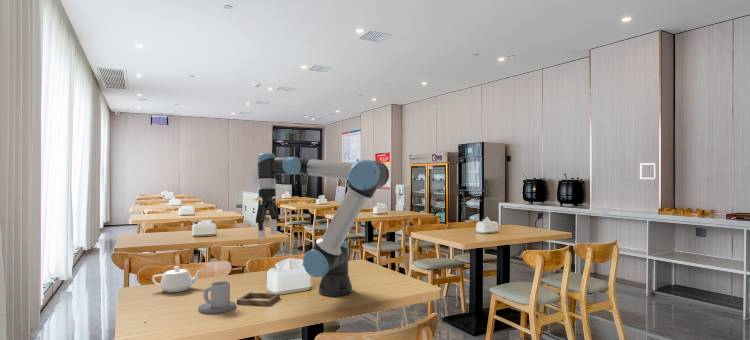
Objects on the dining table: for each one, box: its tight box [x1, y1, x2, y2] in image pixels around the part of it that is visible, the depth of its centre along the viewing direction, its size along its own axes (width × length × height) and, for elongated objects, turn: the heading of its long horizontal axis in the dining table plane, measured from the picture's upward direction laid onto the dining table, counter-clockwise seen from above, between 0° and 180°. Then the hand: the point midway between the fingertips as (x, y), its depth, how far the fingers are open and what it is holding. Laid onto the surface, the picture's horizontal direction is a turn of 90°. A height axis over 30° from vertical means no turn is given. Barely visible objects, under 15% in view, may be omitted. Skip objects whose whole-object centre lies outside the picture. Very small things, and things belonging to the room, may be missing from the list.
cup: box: [203, 280, 231, 309], centre depth 171 cm, size 7×10×9 cm
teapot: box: [151, 265, 203, 293], centre depth 199 cm, size 22×14×11 cm, turn 109°
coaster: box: [197, 300, 237, 315], centre depth 171 cm, size 14×14×1 cm
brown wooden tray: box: [236, 291, 281, 307], centre depth 181 cm, size 14×11×2 cm
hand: (268, 235), depth 191 cm, fingers open, 13 cm apart
